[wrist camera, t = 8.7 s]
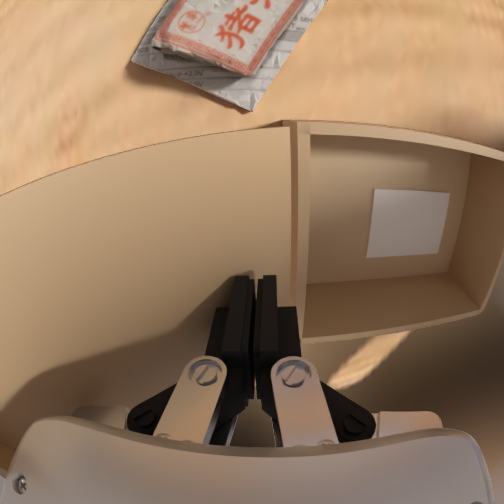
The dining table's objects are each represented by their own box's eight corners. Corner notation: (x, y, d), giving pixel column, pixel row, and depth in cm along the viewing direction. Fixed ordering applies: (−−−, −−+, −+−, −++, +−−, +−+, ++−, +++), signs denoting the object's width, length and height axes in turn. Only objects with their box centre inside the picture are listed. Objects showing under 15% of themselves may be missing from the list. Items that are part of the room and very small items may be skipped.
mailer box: (471, 141, 17) (524, 159, 11) (446, 273, 24) (481, 313, 18) (281, 119, 18) (296, 122, 11) (284, 286, 24) (292, 344, 18)
